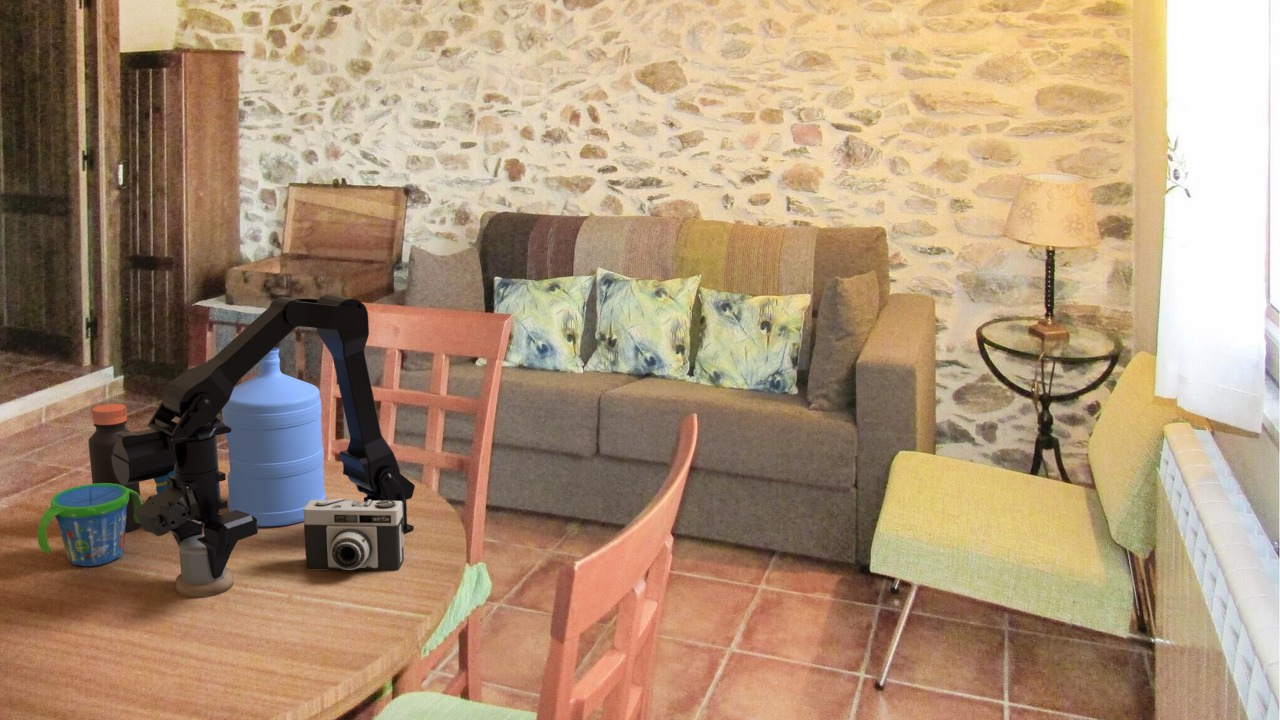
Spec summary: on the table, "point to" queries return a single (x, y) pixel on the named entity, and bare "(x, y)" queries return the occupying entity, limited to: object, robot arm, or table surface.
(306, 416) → the water jug
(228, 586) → the stub
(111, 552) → the snack cup
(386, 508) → the camera
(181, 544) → the cap
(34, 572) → the table surface
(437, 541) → the table surface
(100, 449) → the bottle
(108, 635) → the table surface
